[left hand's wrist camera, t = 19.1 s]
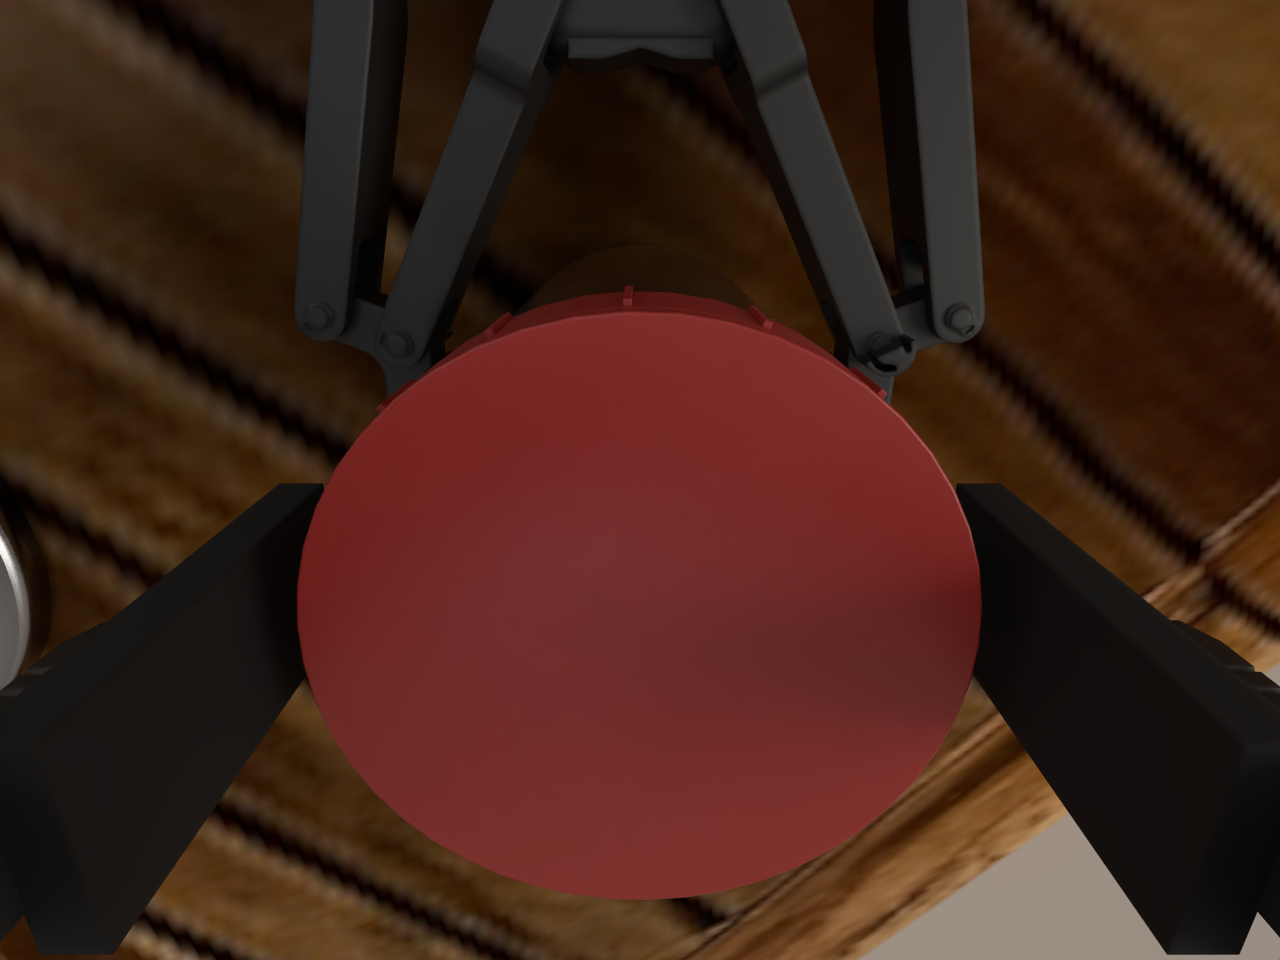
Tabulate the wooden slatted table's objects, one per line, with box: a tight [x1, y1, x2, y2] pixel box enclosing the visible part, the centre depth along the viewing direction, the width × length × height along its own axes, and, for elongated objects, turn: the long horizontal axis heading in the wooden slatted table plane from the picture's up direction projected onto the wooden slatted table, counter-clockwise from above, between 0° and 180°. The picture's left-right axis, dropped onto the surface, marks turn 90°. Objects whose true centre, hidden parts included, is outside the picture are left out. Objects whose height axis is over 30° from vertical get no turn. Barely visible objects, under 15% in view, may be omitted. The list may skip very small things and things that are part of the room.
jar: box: [512, 244, 770, 319], centre depth 18 cm, size 9×9×16 cm
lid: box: [297, 286, 982, 900], centre depth 11 cm, size 10×10×2 cm
